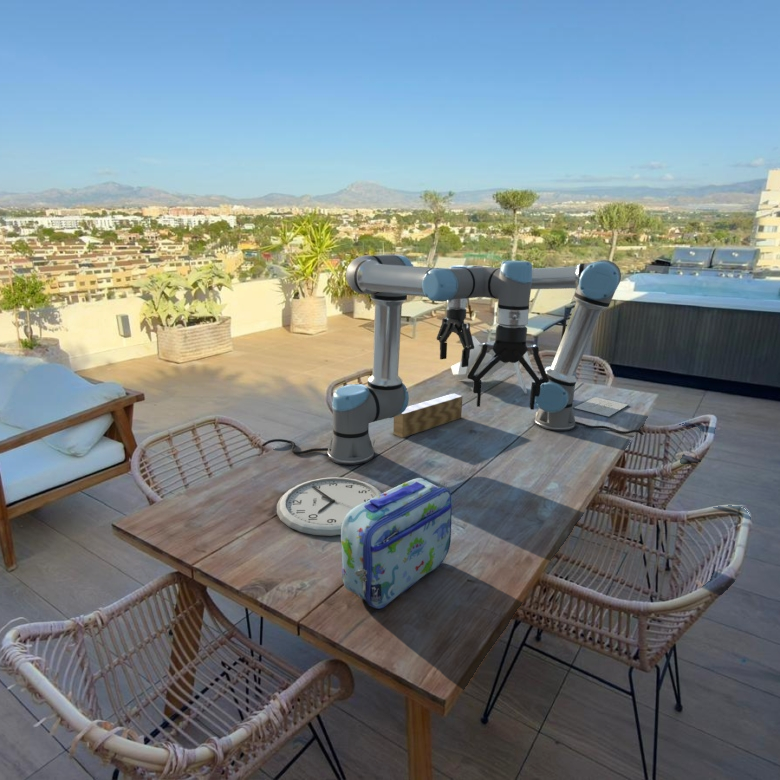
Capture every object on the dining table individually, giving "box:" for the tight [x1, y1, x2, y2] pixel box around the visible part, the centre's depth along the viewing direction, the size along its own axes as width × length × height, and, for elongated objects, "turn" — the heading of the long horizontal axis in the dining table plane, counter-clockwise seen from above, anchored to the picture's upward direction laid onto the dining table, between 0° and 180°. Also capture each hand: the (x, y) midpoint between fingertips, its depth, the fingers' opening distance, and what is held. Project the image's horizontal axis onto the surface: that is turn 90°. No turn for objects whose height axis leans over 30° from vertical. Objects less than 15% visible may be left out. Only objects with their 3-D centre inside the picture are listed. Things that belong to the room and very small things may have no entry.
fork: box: [437, 482, 448, 488], centre depth 145 cm, size 3×16×2 cm, turn 160°
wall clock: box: [276, 476, 383, 537], centre depth 142 cm, size 30×2×30 cm
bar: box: [392, 392, 463, 438], centre depth 200 cm, size 33×5×9 cm, turn 132°
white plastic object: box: [450, 335, 535, 394], centre depth 253 cm, size 37×45×31 cm
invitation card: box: [573, 396, 629, 418], centre depth 226 cm, size 21×1×15 cm
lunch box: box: [340, 477, 452, 610], centre depth 110 cm, size 26×11×21 cm, turn 134°
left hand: (504, 406), depth 135 cm, fingers open, 13 cm apart
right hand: (453, 362), depth 203 cm, fingers open, 13 cm apart
